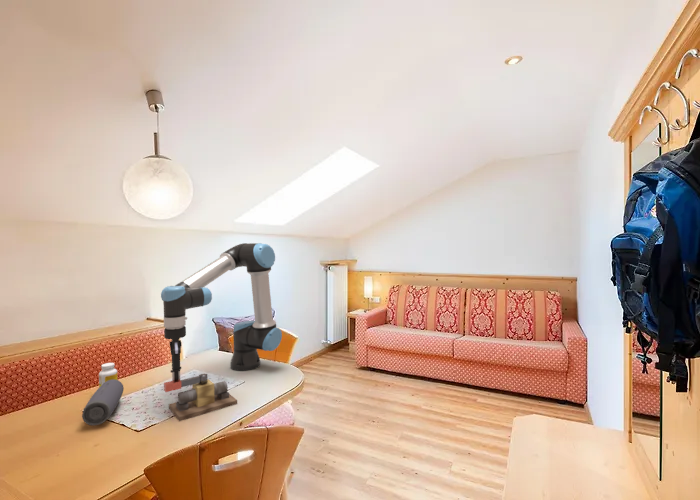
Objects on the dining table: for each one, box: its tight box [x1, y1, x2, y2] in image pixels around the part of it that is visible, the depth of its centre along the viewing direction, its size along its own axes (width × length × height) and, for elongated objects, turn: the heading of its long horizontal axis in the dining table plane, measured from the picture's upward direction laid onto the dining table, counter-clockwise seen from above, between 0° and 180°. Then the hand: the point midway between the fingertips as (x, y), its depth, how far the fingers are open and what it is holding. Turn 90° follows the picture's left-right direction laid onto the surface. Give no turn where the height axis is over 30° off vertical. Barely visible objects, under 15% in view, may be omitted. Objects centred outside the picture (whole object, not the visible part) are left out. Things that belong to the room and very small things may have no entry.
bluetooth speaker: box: [81, 379, 125, 426], centre depth 140 cm, size 23×9×10 cm, turn 21°
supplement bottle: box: [98, 362, 118, 388], centre depth 158 cm, size 7×7×13 cm
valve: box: [168, 378, 238, 422], centre depth 147 cm, size 22×14×9 cm, turn 131°
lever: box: [163, 373, 208, 393], centre depth 143 cm, size 16×3×3 cm, turn 129°
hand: (176, 387), depth 143 cm, fingers closed
